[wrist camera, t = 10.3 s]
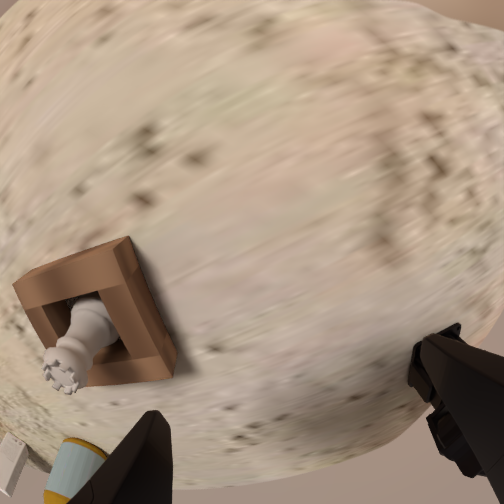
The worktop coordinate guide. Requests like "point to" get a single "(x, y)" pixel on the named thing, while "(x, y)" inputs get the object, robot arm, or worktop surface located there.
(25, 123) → the worktop surface
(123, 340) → the socket
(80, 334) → the rook chess piece
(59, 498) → the bottle
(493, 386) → the robot arm
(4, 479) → the skincare box
